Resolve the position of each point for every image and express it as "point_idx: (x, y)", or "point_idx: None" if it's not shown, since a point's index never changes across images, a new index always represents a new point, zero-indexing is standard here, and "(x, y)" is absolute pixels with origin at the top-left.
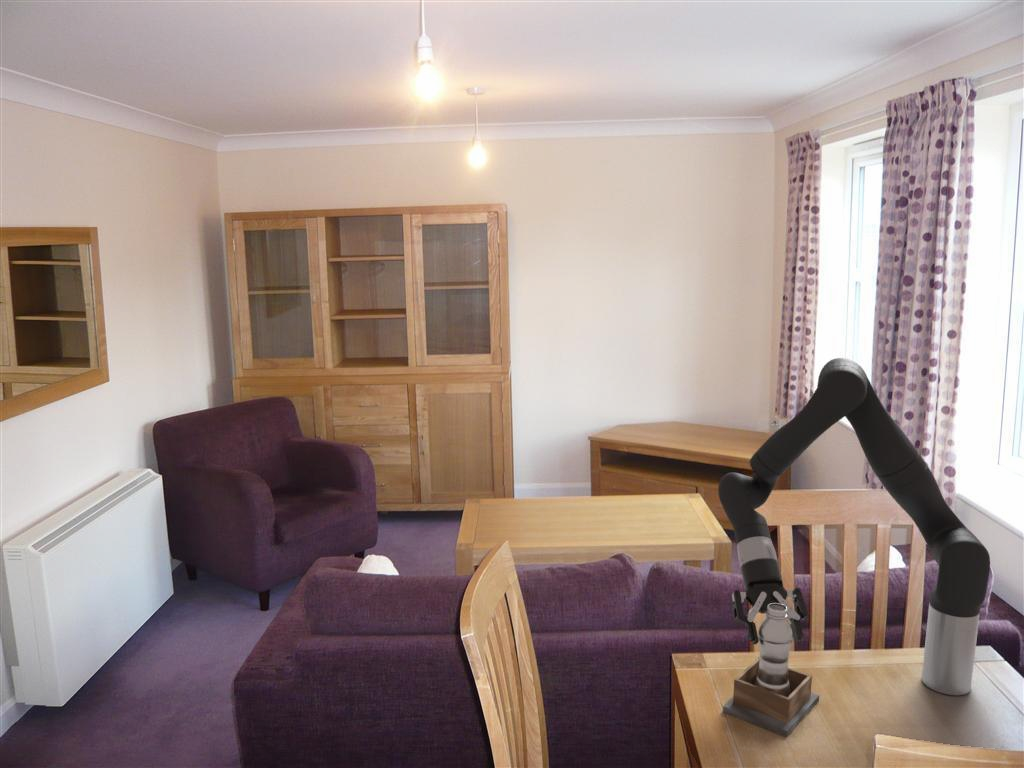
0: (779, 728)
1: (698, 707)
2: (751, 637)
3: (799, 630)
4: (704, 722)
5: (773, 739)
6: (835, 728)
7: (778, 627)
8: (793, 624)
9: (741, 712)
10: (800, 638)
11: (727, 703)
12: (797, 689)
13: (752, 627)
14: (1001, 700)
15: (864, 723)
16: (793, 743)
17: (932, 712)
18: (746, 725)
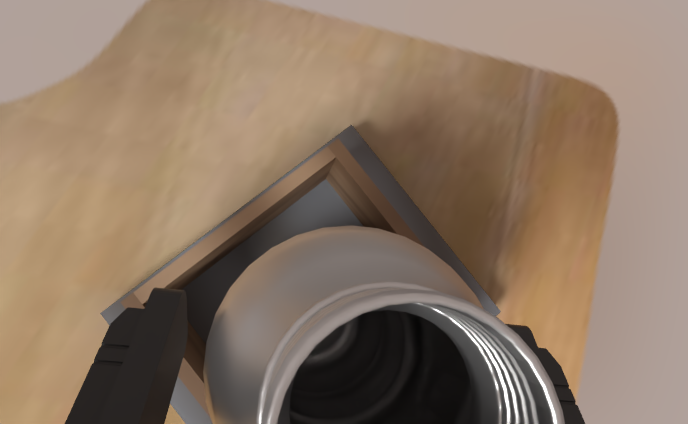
0: (368, 146)
1: (561, 350)
2: (549, 361)
3: (122, 356)
4: (571, 262)
5: (395, 130)
6: (156, 138)
7: (402, 273)
8: (147, 418)
9: (454, 260)
10: (160, 289)
11: None
12: (259, 204)
13: (565, 421)
14: None
15: (30, 141)
16: (343, 97)
17: None
18: (446, 218)
